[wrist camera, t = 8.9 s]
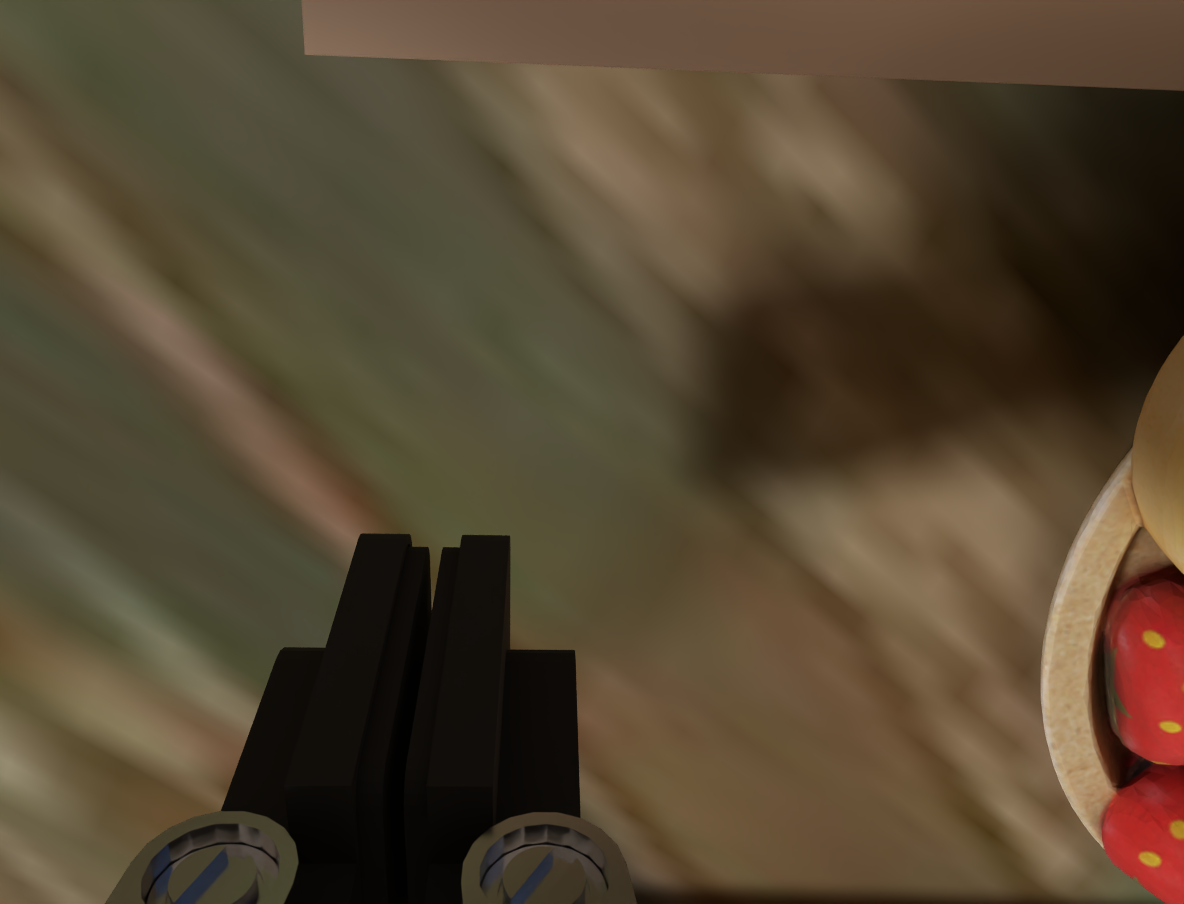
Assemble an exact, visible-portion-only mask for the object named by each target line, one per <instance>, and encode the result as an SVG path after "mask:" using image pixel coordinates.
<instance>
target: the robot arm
mask: <svg viewBox="0 0 1184 904" xmlns="http://www.w3.org/2000/svg"><path fill="white" fill-rule="evenodd" d="M105 904H637V902H636V898H635V894H634V890H633V887H632V883H631V879H630V876H629V872H628V868H627V865H626V862H625V860H624V858H623V856H622V854H621V852H620V850H619V847H618V845H617V844H616V843H615V842H614V841H613V840H612V839H611V838H610V837H609V836H608V835H607V834H606V833H605V832H604V831H603V830H602V829H600V828H598V827H597V826H595V825H593V824H591V823H589V822H587V821H586V820H584V819H582V818H580V788H579V756H578V723H577V691H576V660H575V650H510V536H502V535H462V538H461V545H460V548H458V547H443V549H442V554H441V560H440V566H439V572H438V578H437V584H436V590H435V596H434V602H433V608H431V579H430V554H429V548H428V547H412V541H411V536H410V534H360V536H359V539H358V542H357V545H356V548H355V552H354V555H353V558H352V562H351V565H350V568H349V572H348V575H347V578H346V581H345V585H344V588H343V591H342V595H341V598H340V601H339V605H338V608H337V611H336V615H335V618H334V621H333V624H332V628H331V631H330V634H329V638H328V641H327V644H326V648H295V647H284V648H283V649H282V650H280V652H279V654H278V656H277V658H276V661H275V663H274V666H273V669H272V672H271V674H270V677H269V680H268V683H267V685H266V688H265V691H264V694H263V696H262V699H261V702H260V705H259V708H258V710H257V713H256V716H255V719H254V721H253V724H252V727H251V730H250V732H249V735H248V738H247V741H246V743H245V746H244V749H243V752H242V754H241V757H240V760H239V763H238V765H237V768H236V771H235V774H234V776H233V779H232V782H231V785H230V787H229V790H228V793H227V796H226V798H225V801H224V804H223V807H222V809H221V811H219V812H215V813H210V814H205V815H201V816H196V817H193V818H190V819H188V820H186V821H184V822H181V823H179V824H177V825H175V826H172V827H170V828H168V829H167V830H165V831H164V832H163V833H161V834H160V835H158V836H157V837H156V838H154V839H153V840H152V841H150V842H149V843H147V844H146V846H145V847H144V848H143V849H142V850H141V851H140V853H139V854H138V855H137V856H136V857H135V858H134V860H133V861H132V862H131V863H130V865H129V866H128V868H127V870H126V871H125V873H124V874H123V876H122V878H121V879H120V881H119V882H118V884H117V885H116V887H115V889H114V890H113V892H112V893H111V895H110V896H109V898H108V900H107V901H106V903H105Z"/></svg>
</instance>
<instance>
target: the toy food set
mask: <svg viewBox="0 0 1184 904" xmlns="http://www.w3.org/2000/svg"><path fill="white" fill-rule="evenodd" d="M1041 705H1042V713H1043V722H1044V731H1045V735H1046V739H1047V743H1048V747H1049V751H1050V755H1051V759H1052V762H1053V766H1054V769H1055V771H1056V774H1057V776H1058V779H1059V781H1060V784H1061V786H1062V788H1063V790H1064V792H1065V794H1066V796H1067V798H1068V800H1069V802H1070V804H1071V806H1072V808H1073V809H1074V811H1075V812H1076V814H1077V815H1078V817H1079V818H1080V820H1081V821H1082V823H1083V824H1084V826H1085V827H1086V828H1087V829H1088V831H1089V832H1090V833H1091V835H1092V836H1093V837H1094V838H1095V840H1096V841H1097V842H1098V843H1099V844H1100V845H1101V846H1102V847H1103V848H1104V849H1105V852H1106V854H1107V855H1108V857H1109V858H1110V860H1111V861H1112V862H1113V864H1114V865H1116V866H1117V867H1118V868H1119V869H1121V870H1122V871H1123V872H1124V873H1126V874H1127V875H1128V876H1130V877H1131V878H1132V879H1133V880H1135V881H1136V882H1137V883H1139V884H1140V885H1141V886H1143V887H1144V888H1145V889H1147V890H1148V891H1149V892H1151V893H1152V894H1153V895H1155V896H1156V897H1157V898H1159V899H1160V900H1161V901H1163V902H1164V903H1165V904H1184V335H1183V337H1182V338H1181V339H1180V341H1179V342H1178V343H1177V345H1176V346H1175V348H1174V349H1173V350H1172V352H1171V353H1170V354H1169V356H1168V358H1167V359H1166V361H1165V362H1164V364H1163V365H1162V367H1161V369H1160V370H1159V372H1158V374H1157V376H1156V378H1155V380H1154V382H1153V384H1152V386H1151V388H1150V390H1149V392H1148V394H1147V396H1146V399H1145V402H1144V405H1143V408H1142V411H1141V414H1140V416H1139V419H1138V422H1137V426H1136V431H1135V435H1134V441H1133V447H1132V448H1131V449H1130V450H1129V452H1128V453H1127V454H1126V456H1125V457H1124V458H1123V459H1122V461H1121V462H1120V463H1119V465H1118V466H1117V467H1116V469H1115V470H1114V472H1113V473H1112V475H1111V476H1110V478H1109V479H1108V481H1107V482H1106V484H1105V485H1104V487H1103V488H1102V490H1101V492H1100V493H1099V495H1098V496H1097V498H1096V500H1095V501H1094V503H1093V505H1092V507H1091V508H1090V510H1089V512H1088V513H1087V515H1086V517H1085V519H1084V520H1083V522H1082V524H1081V526H1080V528H1079V530H1078V533H1077V535H1076V537H1075V539H1074V541H1073V543H1072V545H1071V548H1070V550H1069V552H1068V555H1067V557H1066V560H1065V563H1064V565H1063V568H1062V570H1061V573H1060V576H1059V579H1058V582H1057V585H1056V589H1055V592H1054V595H1053V598H1052V602H1051V605H1050V609H1049V614H1048V619H1047V625H1046V630H1045V635H1044V640H1043V649H1042V660H1041Z"/></svg>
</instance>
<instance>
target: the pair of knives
mask: <svg viewBox="0 0 1184 904" xmlns="http://www.w3.org/2000/svg"><path fill="white" fill-rule="evenodd" d="M302 14H303V31H304V48H305V55H328V56H353V57H377V58H401V59H426V60H450V61H474V62H499V63H523V64H547V65H572V66H596V67H620V68H645V69H669V70H693V71H718V72H742V73H766V74H791V75H815V76H839V77H864V78H888V79H913V80H937V81H961V82H986V83H1010V84H1034V85H1059V86H1083V87H1107V88H1132V89H1156V90H1180V91H1184V0H302Z"/></svg>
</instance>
